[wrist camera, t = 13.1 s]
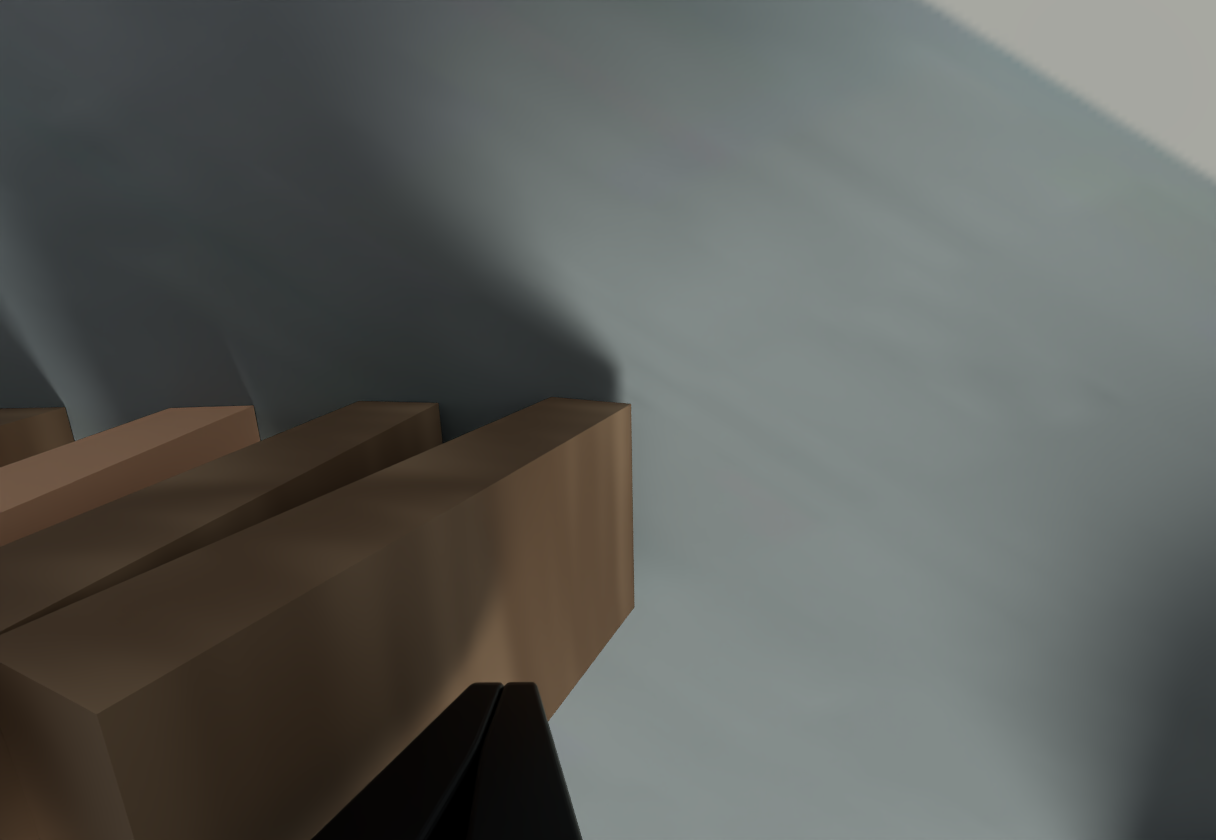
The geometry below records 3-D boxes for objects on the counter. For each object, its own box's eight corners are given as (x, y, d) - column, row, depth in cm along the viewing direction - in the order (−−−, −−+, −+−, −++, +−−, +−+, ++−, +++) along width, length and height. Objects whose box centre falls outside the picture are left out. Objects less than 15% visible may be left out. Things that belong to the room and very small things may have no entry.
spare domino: (253, 405, 14) (-515, 730, 5) (290, 595, 16) (-241, 1153, 6) (169, 408, 14) (-764, 735, 5) (214, 596, 16) (-438, 1152, 6)
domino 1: (631, 403, 13) (96, 713, 5) (634, 607, 15) (226, 1147, 6) (551, 397, 14) (-30, 647, 5) (561, 589, 15) (110, 1038, 7)
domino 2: (437, 403, 14) (-214, 741, 4) (458, 598, 15) (-4, 1182, 6) (358, 401, 14) (-395, 708, 5) (385, 592, 15) (-160, 1127, 6)
